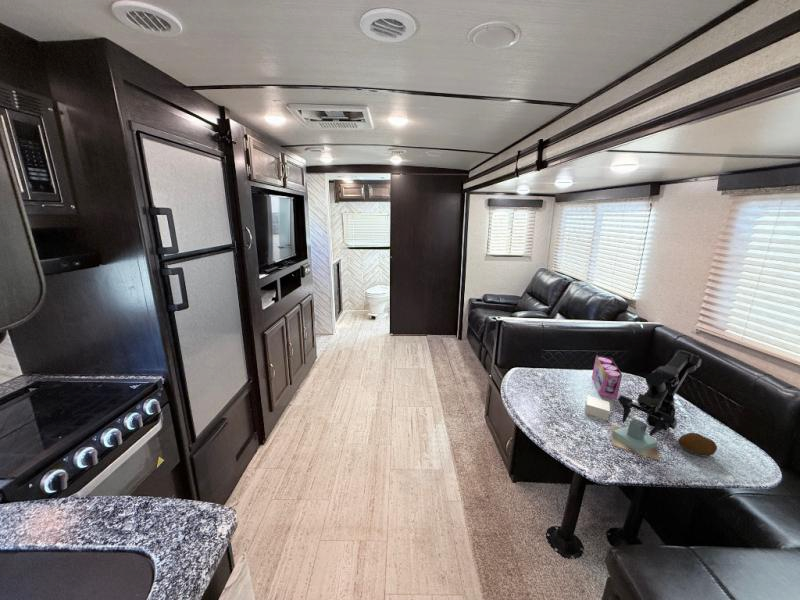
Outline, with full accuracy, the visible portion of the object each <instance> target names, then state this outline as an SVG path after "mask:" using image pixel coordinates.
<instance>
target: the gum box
mask: <svg viewBox="0 0 800 600" xmlns="http://www.w3.org/2000/svg"><path fill="white" fill-rule="evenodd" d="M622 376H623V374H622V371H621V370H620V369H619V368H618V366H617V364H616V363H615V361H614V359H613V358H612V357H609V356H604V355H603V356H602V355H596V356H595V360H594V365H593V369H592V375H591V378H592V380H593V384H594V386H595V388H596V390H597V393H598V396H601V397H605V398H609V399H614V400H618V395H619V390H620V387H621V386H620V385H621V381H622Z"/></svg>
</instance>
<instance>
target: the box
mask: <svg viewBox="0 0 800 600" xmlns="http://www.w3.org/2000/svg"><path fill="white" fill-rule="evenodd" d="M584 407H585V408H584V414H587V415H589V416H593V417H596V418H599V419H602V420H606V421H608V420H609V417H610V412H611V410H610V409H611V408H610V402H609V401H607V400H604V399H601V398H596V397H593V396H589V395H586V401H585V405H584Z"/></svg>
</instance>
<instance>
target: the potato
mask: <svg viewBox="0 0 800 600" xmlns="http://www.w3.org/2000/svg"><path fill="white" fill-rule="evenodd" d="M677 441H678V445H679V446H680V447H681V448H683V449H684V450H686V451H688V452H690V453H692V454H694V455H697V456H701V457H702V456H703V457H709V456H713V455H715V454H716V452H717V450H718V446H717V444H716V443H715V441H714V440H712V439H710V438H709V437H707V436H703V435H702V434H700V433H695V432H688V433H685V434H683V435H681V436H680V437H678V440H677Z"/></svg>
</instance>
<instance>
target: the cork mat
mask: <svg viewBox="0 0 800 600" xmlns="http://www.w3.org/2000/svg"><path fill="white" fill-rule="evenodd" d="M620 428H621V427H619V426H617V425H614V424H611V425H610V436H611V446H613V447H616V448H619V449H621V450H625V451H627V450H628V451H627V452H630V451H631V452H630V453H634V454H637V455H639V453H638V452H636V451H635V450H633V449H632V448H630V447H629V446H627V445H625V444H624V443H622V442H621V441H619V440H618V439H616V438H615V437H613V436H612V434H613V431H614V430H617V429H620ZM650 437H651V438H653V439H654V440H656V439H655V437H652V436H650ZM642 455H643V456H642ZM640 456H642V457H645V456H646V457H645V458H648V457H650V458H649V459H651V458H652V459H651V460H654V459H655V461H657V460H658V461H657V462H661V459H660V455H659V451H658V447H655V448H653V449H650V450H647V451H645V452H642V453H640Z"/></svg>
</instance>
